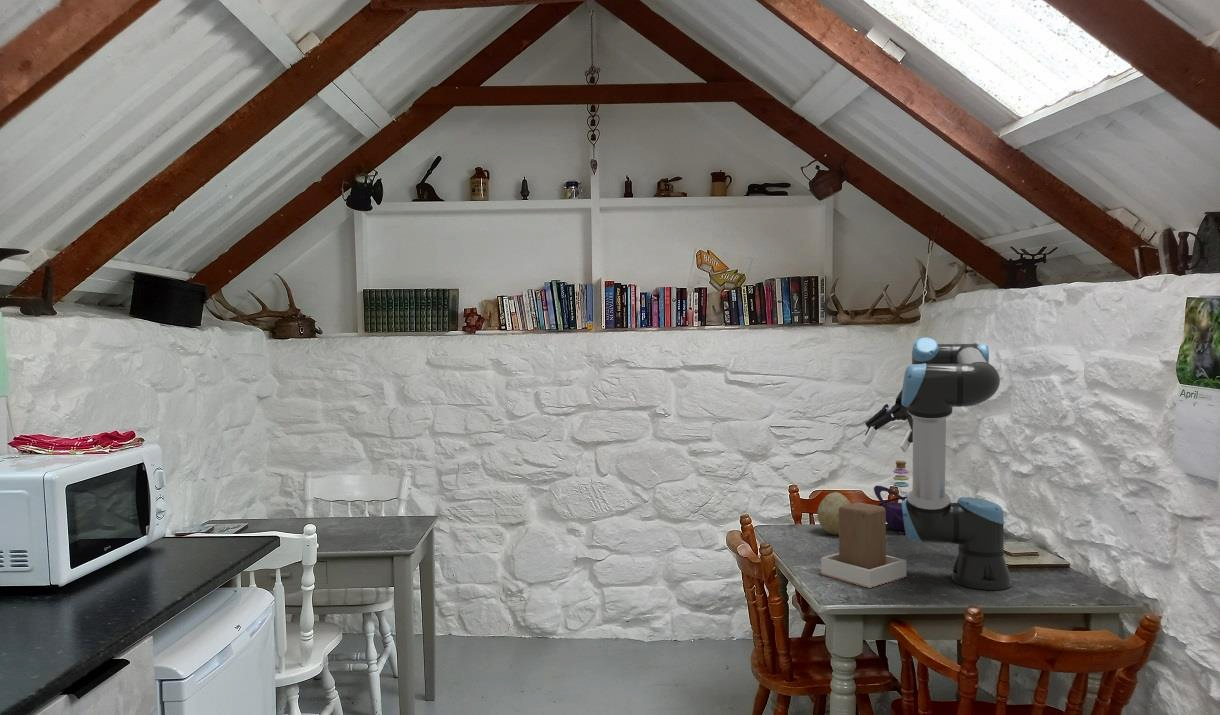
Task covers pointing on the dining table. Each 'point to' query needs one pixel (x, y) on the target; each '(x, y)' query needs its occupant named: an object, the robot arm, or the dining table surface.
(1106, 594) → the dining table surface
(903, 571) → the shallow white tray
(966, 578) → the robot arm
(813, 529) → the dining table surface
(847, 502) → the speckled cream ball
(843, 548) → the wooden block
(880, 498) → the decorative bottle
